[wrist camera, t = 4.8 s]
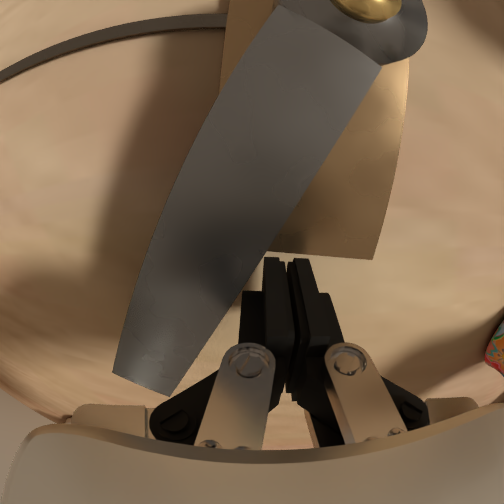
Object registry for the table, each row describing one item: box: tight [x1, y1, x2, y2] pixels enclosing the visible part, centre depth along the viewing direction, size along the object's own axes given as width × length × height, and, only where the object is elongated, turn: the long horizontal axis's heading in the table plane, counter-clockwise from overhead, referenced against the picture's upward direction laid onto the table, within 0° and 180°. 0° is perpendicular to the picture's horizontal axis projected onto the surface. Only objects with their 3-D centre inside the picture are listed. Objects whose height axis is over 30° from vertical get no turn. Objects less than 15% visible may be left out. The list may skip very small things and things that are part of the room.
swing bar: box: [112, 0, 428, 397], centre depth 8 cm, size 18×4×4 cm, turn 151°
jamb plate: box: [0, 0, 409, 260], centre depth 8 cm, size 20×12×1 cm, turn 85°
